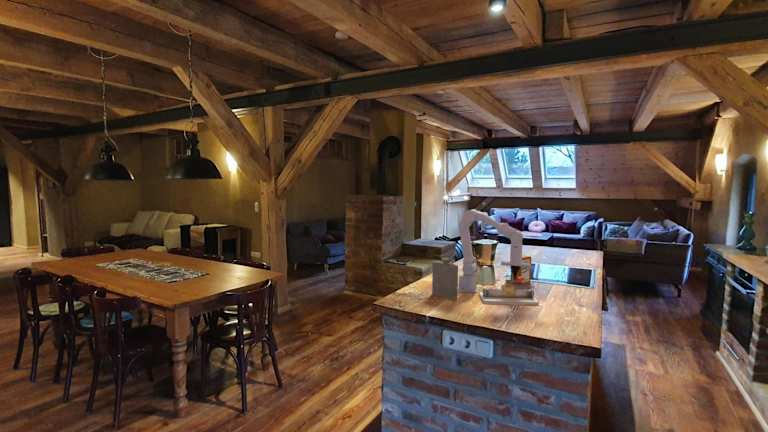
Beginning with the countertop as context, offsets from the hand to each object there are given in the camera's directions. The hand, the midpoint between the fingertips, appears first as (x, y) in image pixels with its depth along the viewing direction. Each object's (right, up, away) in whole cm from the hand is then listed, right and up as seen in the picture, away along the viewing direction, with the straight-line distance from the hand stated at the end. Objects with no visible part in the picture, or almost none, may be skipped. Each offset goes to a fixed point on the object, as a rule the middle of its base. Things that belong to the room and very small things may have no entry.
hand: (515, 280), depth 199 cm
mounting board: (-6, -9, -6) cm, 12 cm away
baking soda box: (+13, -6, +28) cm, 31 cm away
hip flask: (-36, -9, -1) cm, 37 cm away
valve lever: (-2, 0, -4) cm, 4 cm away
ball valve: (-6, -9, -6) cm, 12 cm away
